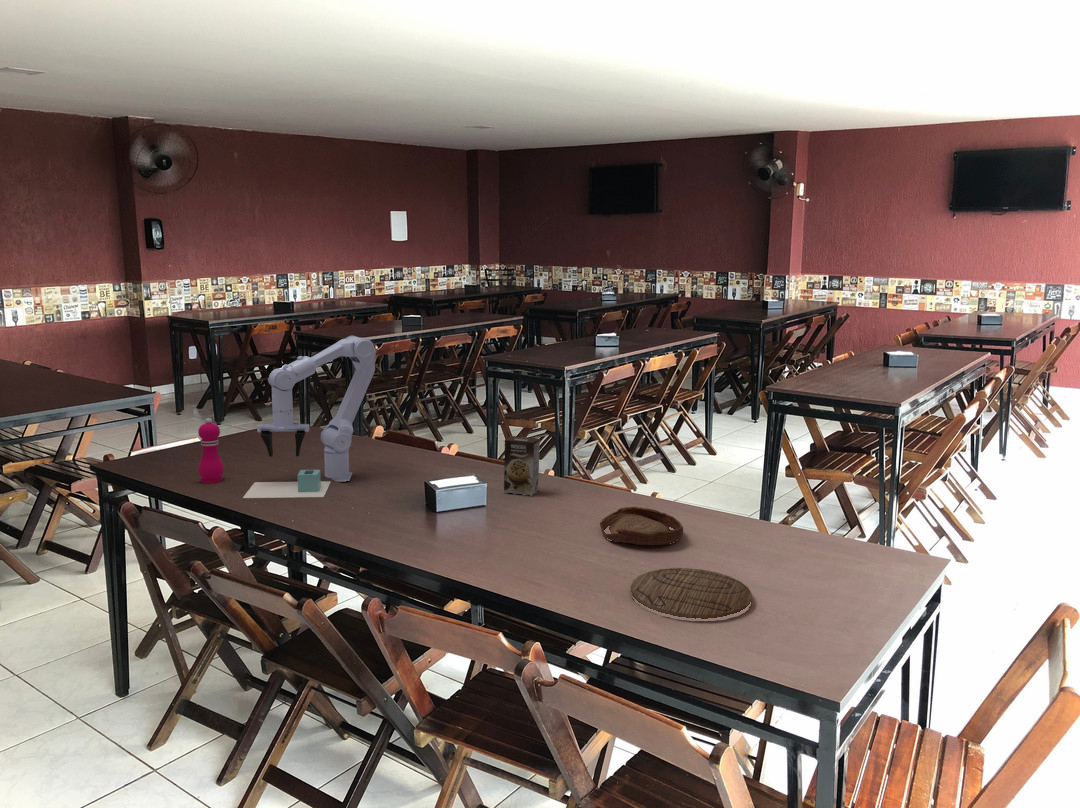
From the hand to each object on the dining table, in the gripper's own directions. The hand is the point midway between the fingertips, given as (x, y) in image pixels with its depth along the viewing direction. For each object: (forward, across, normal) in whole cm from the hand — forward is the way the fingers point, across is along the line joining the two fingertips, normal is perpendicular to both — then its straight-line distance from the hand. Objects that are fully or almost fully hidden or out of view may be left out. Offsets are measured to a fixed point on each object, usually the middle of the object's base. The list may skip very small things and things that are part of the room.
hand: (284, 455), depth 260 cm
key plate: (+9, +2, -7) cm, 12 cm away
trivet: (+10, +98, -88) cm, 132 cm away
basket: (+10, +96, -49) cm, 108 cm away
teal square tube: (+8, +8, -7) cm, 13 cm away
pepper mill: (+10, -22, +4) cm, 24 cm away
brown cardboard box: (+10, +69, -9) cm, 70 cm away
